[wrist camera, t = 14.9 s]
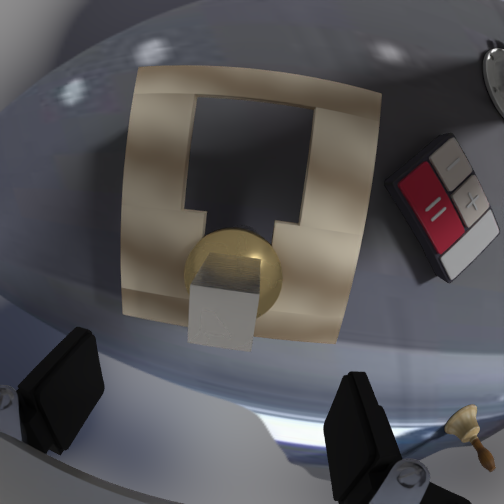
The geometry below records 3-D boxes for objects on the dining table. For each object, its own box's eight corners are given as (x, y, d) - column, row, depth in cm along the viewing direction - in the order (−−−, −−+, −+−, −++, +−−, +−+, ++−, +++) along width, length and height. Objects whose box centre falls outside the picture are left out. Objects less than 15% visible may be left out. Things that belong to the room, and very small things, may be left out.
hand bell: (462, 402, 41) (498, 457, 25) (482, 405, 41) (515, 453, 26) (437, 432, 43) (465, 487, 28) (458, 433, 43) (485, 482, 28)
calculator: (455, 130, 26) (504, 233, 28) (437, 134, 30) (486, 227, 32) (393, 183, 28) (451, 287, 30) (379, 182, 32) (436, 276, 34)
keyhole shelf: (179, 98, 30) (138, 66, 18) (341, 117, 30) (381, 93, 18) (163, 269, 35) (122, 314, 23) (314, 289, 35) (335, 344, 23)
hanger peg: (211, 206, 30) (158, 246, 14) (281, 215, 30) (300, 265, 14) (205, 271, 32) (158, 361, 16) (271, 280, 32) (277, 378, 16)
